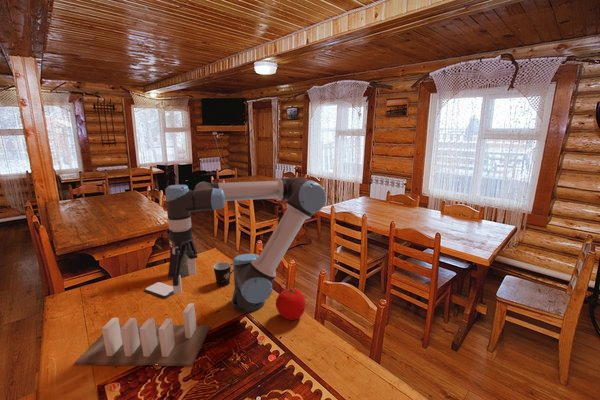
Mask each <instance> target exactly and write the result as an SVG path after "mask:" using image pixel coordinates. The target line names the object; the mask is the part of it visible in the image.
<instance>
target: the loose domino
mask: <svg viewBox="0 0 600 400" xmlns="http://www.w3.org/2000/svg"><path fill="white" fill-rule="evenodd" d="M182 316H183V318H182V319H183V325H184V328H185V337H186V338H191V337H192V335H193V333H194V332H195V330H196V326H197V320H196V318H197V317H196V309H195V303H194V302H191V303H188V304H187V306H186V307H185V308H184V310H183V312H182Z"/></svg>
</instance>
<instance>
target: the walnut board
mask: <svg viewBox="0 0 600 400" xmlns="http://www.w3.org/2000/svg"><path fill="white" fill-rule="evenodd" d="M119 325H120V331H121V328H122V327H123V326H124V325H125V324H119ZM142 325H143V324H137V327H138V333H139V340H140V345H139V346H138V348H137V349H136V350H135V351H134V353H133V354H132V355H131V356H125V352H124V346H123V344H122V345H121V347H120V348H119V349H118V350H117V351H116V352H115V354H114V355H113V356H107V354H106V349H105V343H104V338H103V333H102V334H101V335H100V336H99V337H98V338H97V339H96V340H95V341H94V342H93V343H92V344H91V345H90V347H89V348H87V349H86V350H85V352H83V354H81V355H80V356H79V358H78V359H76V361H74V363H75V366H77V365H79V366H80V365H84V366H85V365H87V366H89V365H90V366H140V367H141V366H143V365H144V366H145V365H150V366H151V365H155V364H158V365H161V366H160V367H193V365H194V362H195V361H196V358H197V356H198V355H199V352H200V350H201V348H202V346H203V344H204V342H205V340H206V338H207V336H208V334H209V332H210V330H211V325H196V330H195V332H194V333H193V335H192V337H191V338H186V337H185V328H184V324H183V325H181V324H180V325H179V324H178V325H177V324H176V325H175V324H174V325H173V331H174V340H175V346H174V347H173V349H172V351H171V352H170V354H169V355H168V357H162V353H161V345H160V338H159V330H158V329H159V328H160V326H161V325H162V324H155V329H156V336H157V344H158V345H157V346H156V347H155V349H154V350H153V352H152V353H151V355H150V356H149V357H147V356H143V349H142V343H141V336H140V328H141V327H142ZM207 333H208V334H207ZM206 335H207V336H206ZM121 337H122V334H121ZM122 343H123V340H122ZM150 366H149V367H150ZM151 367H152V366H151Z"/></svg>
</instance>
